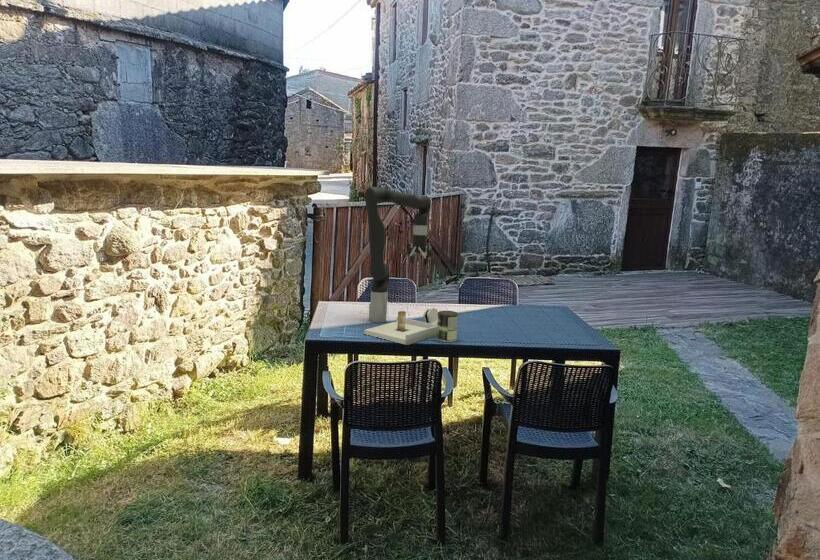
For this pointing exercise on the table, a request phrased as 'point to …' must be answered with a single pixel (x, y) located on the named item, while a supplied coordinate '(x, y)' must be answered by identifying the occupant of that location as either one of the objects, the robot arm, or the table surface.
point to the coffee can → (447, 326)
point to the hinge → (431, 316)
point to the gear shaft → (401, 321)
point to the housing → (411, 335)
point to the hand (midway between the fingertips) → (418, 264)
